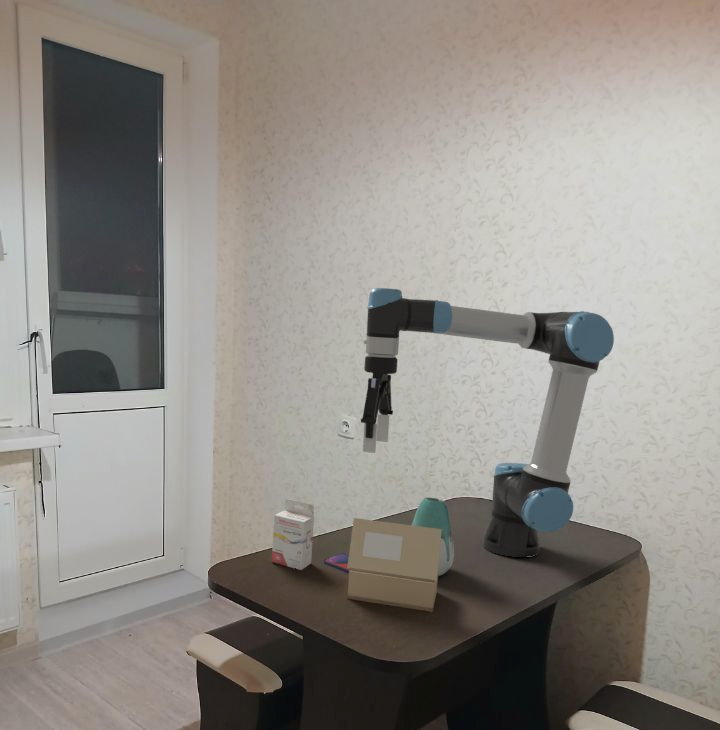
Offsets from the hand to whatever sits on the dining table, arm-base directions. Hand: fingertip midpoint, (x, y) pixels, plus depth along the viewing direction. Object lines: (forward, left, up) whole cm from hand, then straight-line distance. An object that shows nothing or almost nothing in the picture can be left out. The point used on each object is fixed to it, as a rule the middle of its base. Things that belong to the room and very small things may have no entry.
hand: (375, 446), depth 147 cm
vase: (-14, -5, -30) cm, 33 cm away
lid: (-8, +14, -19) cm, 25 cm away
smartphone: (+3, -1, -30) cm, 30 cm away
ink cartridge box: (+18, +2, -30) cm, 35 cm away
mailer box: (-8, +11, -30) cm, 33 cm away
